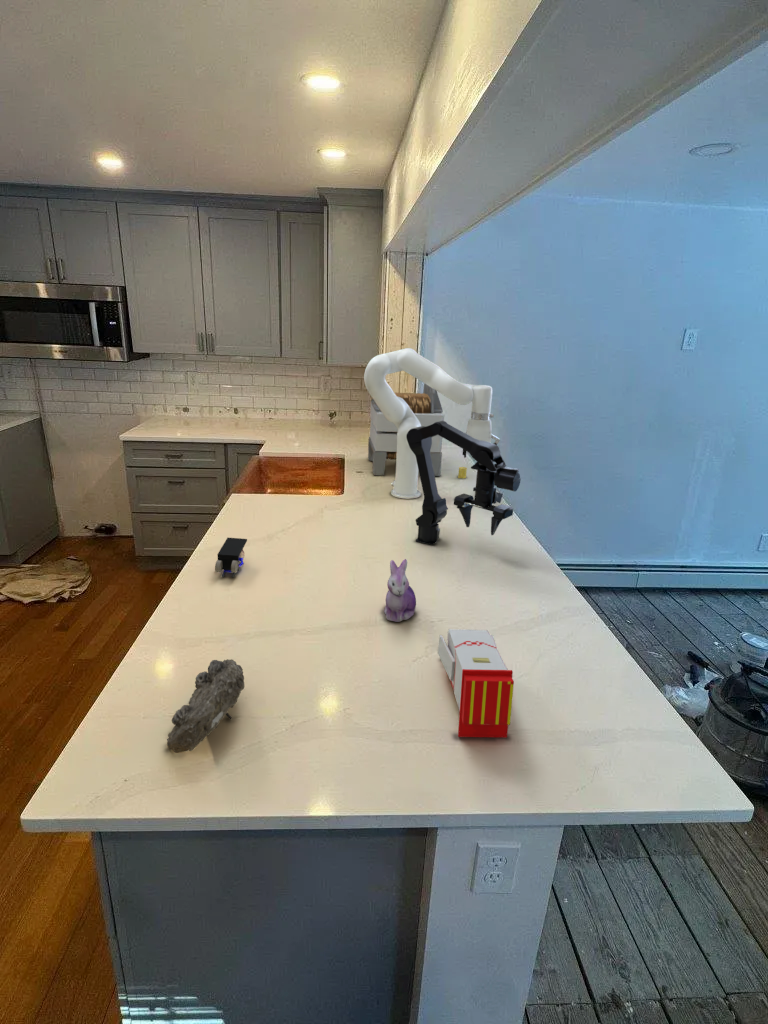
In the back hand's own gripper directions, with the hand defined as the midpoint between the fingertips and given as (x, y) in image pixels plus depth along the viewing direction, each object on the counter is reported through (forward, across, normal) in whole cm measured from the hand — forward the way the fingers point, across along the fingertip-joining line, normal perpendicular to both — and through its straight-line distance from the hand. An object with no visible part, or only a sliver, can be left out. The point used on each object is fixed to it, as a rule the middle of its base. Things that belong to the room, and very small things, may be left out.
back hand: (476, 457), depth 234 cm
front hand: (+10, +1, +59) cm, 60 cm away
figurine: (+18, +23, +101) cm, 106 cm away
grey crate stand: (+18, +33, -44) cm, 58 cm away
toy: (+18, +6, +131) cm, 132 cm away
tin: (+18, +4, -33) cm, 38 cm away
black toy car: (+18, +74, +84) cm, 114 cm away
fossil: (+18, +55, +146) cm, 157 cm away
